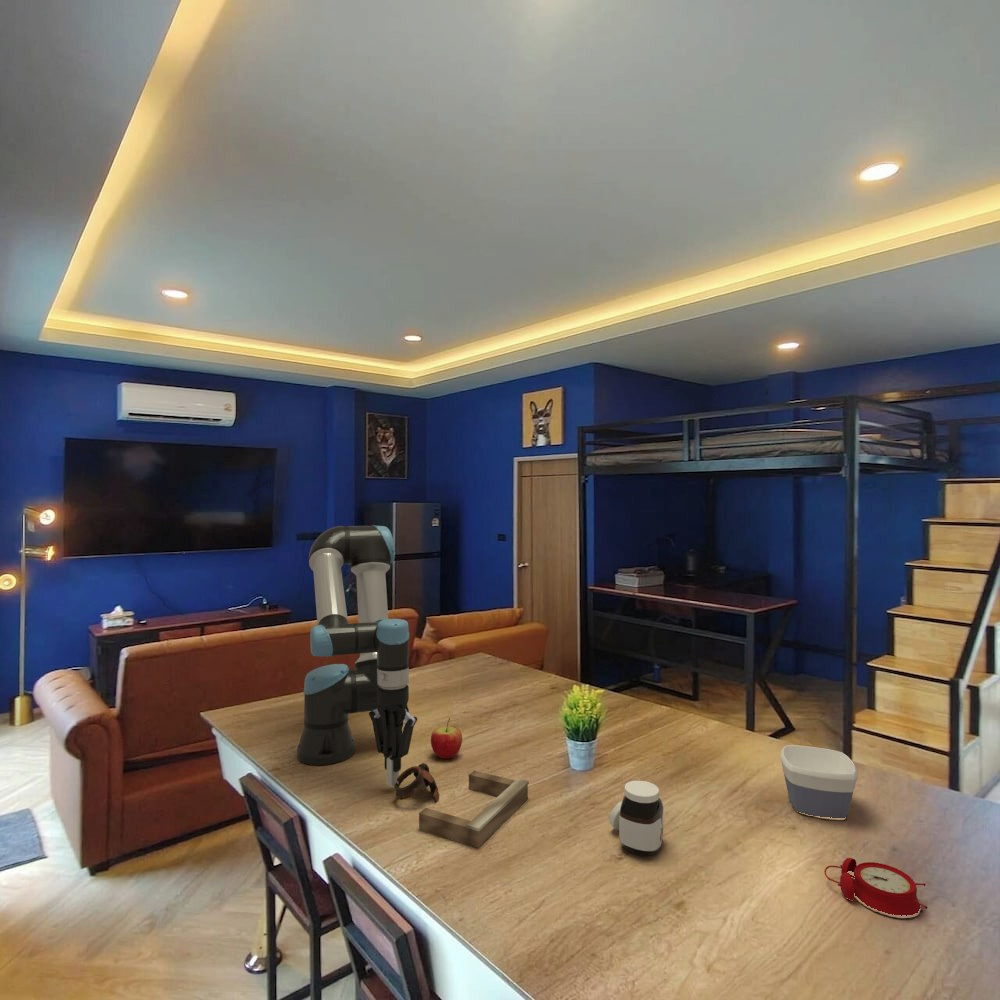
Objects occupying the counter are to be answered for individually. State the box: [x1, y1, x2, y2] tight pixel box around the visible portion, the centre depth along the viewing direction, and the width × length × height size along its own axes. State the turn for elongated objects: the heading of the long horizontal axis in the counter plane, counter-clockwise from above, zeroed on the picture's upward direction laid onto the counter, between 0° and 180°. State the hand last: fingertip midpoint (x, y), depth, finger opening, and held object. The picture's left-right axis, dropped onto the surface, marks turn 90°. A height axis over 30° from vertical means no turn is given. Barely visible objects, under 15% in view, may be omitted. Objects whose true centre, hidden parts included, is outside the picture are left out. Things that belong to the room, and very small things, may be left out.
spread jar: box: [608, 780, 664, 856], centre depth 125 cm, size 12×11×12 cm
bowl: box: [780, 744, 859, 818], centre depth 139 cm, size 15×15×11 cm
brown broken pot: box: [393, 762, 440, 804], centre depth 143 cm, size 12×10×8 cm
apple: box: [430, 717, 463, 760], centre depth 166 cm, size 8×8×10 cm
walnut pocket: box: [418, 770, 530, 849], centre depth 136 cm, size 15×23×4 cm, turn 152°
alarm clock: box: [824, 857, 928, 916], centre depth 108 cm, size 10×6×15 cm
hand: (392, 783), depth 146 cm, fingers closed
